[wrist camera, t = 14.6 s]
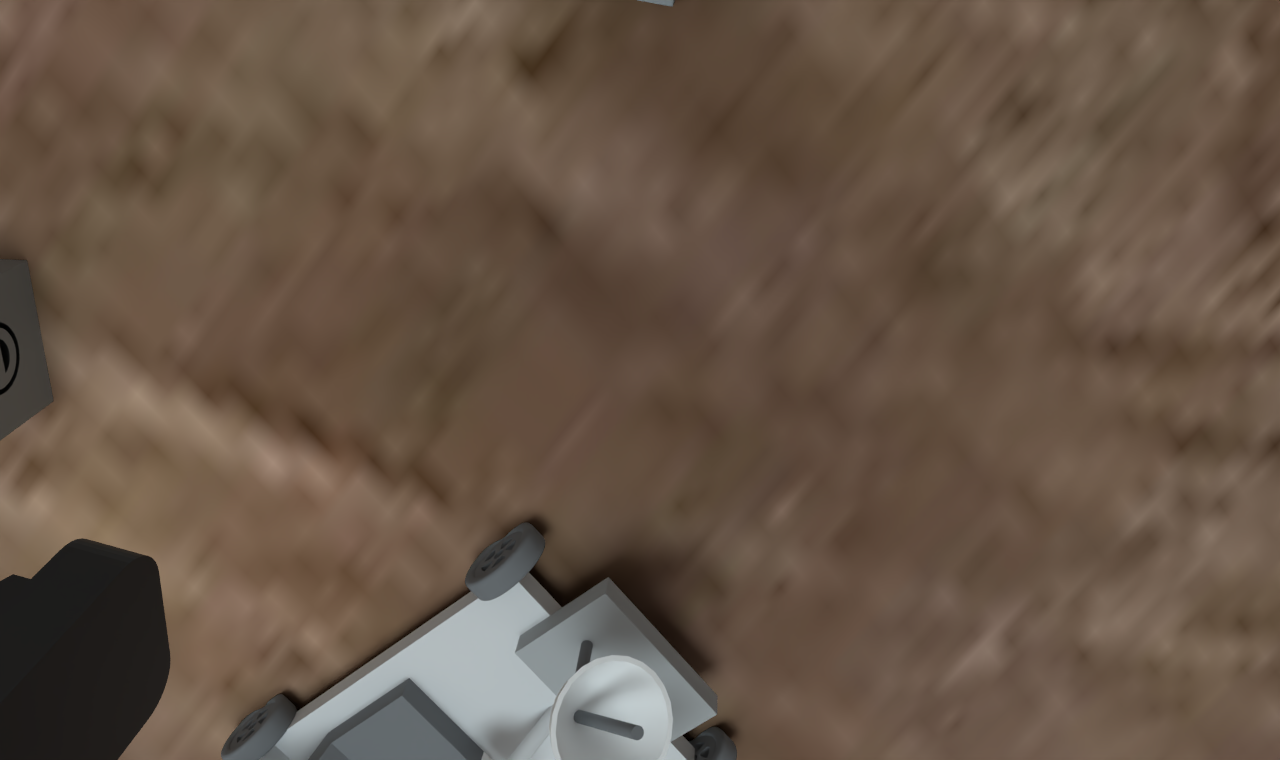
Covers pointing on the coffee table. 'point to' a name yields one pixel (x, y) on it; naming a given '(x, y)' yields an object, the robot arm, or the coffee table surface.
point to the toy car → (505, 683)
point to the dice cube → (20, 350)
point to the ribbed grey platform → (661, 2)
